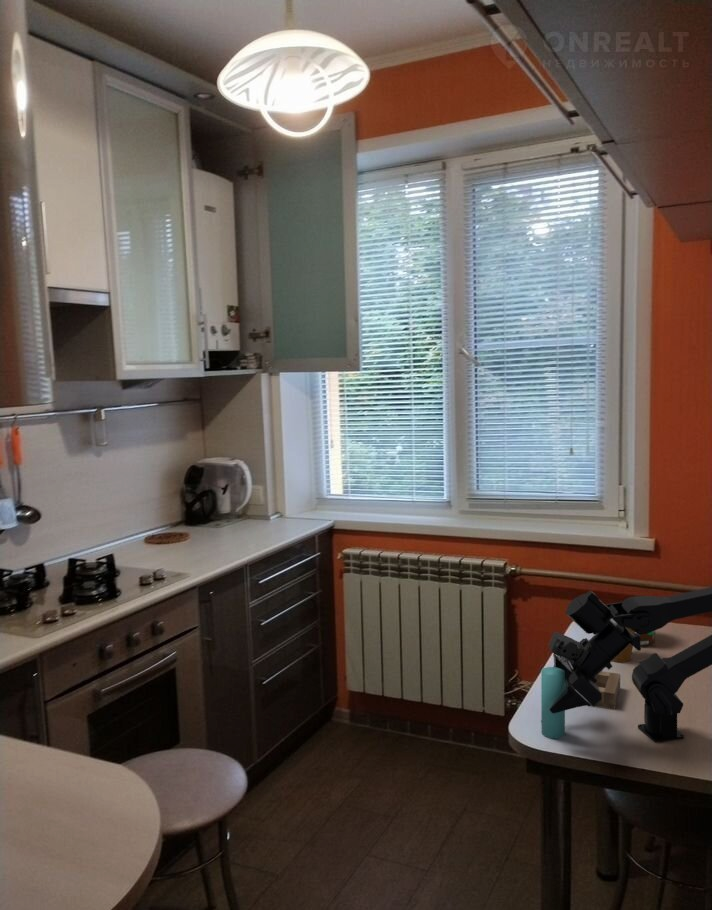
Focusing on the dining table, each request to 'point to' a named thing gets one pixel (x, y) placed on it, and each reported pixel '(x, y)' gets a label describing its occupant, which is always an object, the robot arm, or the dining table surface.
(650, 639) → the food container
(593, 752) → the dining table surface
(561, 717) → the peg
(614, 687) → the block
